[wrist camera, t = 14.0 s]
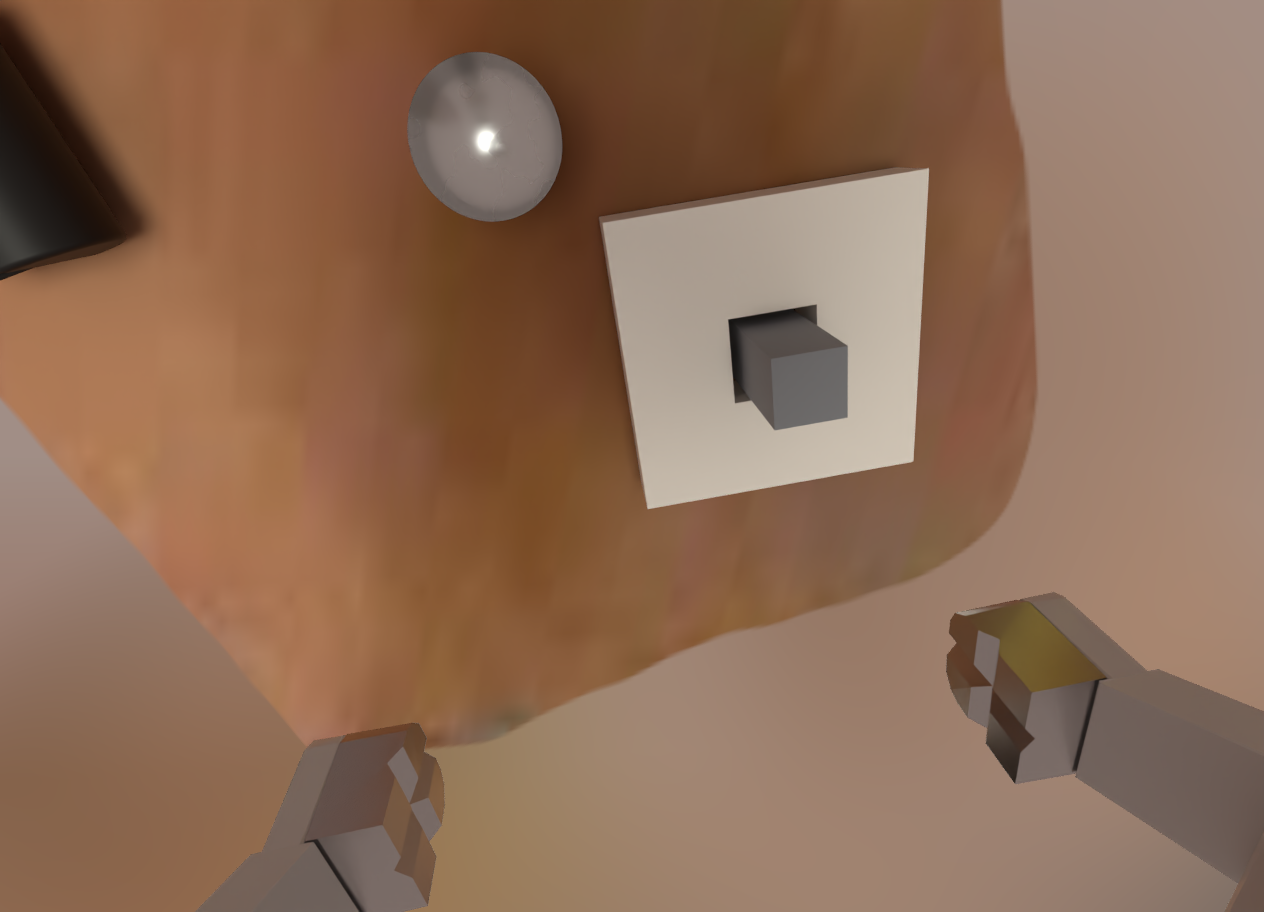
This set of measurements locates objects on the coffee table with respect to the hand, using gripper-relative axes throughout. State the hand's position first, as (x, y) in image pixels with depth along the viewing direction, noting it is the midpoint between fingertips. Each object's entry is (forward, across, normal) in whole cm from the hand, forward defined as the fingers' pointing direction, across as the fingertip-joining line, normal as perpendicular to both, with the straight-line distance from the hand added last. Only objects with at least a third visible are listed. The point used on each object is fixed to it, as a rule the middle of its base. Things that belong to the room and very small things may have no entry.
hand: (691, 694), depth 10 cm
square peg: (+28, -9, +4) cm, 30 cm away
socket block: (+28, -9, +4) cm, 30 cm away
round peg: (+29, +3, -8) cm, 30 cm away
